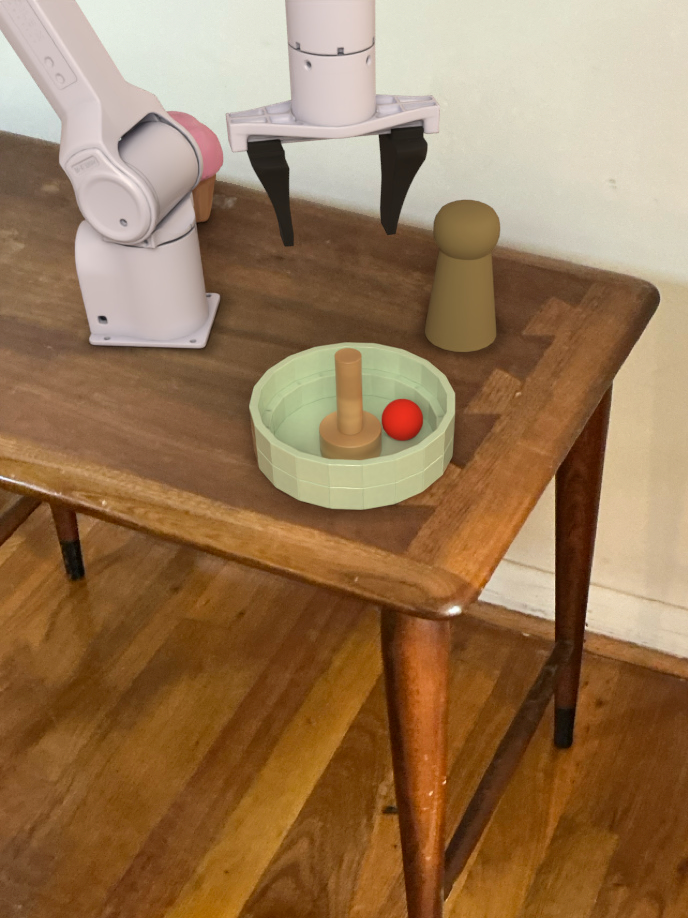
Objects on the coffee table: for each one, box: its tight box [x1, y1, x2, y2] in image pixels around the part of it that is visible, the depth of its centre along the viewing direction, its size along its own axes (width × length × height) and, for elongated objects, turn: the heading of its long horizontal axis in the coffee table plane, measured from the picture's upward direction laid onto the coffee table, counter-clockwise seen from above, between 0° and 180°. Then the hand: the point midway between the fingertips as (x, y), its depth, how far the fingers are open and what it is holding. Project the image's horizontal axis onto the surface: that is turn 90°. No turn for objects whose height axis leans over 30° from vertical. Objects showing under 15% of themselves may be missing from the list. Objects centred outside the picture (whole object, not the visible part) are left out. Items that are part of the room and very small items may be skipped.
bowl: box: [248, 341, 456, 511], centre depth 73 cm, size 14×14×4 cm
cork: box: [424, 199, 501, 353], centre depth 82 cm, size 6×6×11 cm
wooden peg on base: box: [319, 348, 382, 460], centre depth 71 cm, size 4×4×8 cm
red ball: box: [382, 399, 423, 441], centre depth 74 cm, size 3×3×3 cm
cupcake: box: [165, 110, 224, 224], centre depth 96 cm, size 9×9×10 cm
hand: (338, 234), depth 76 cm, fingers open, 7 cm apart
